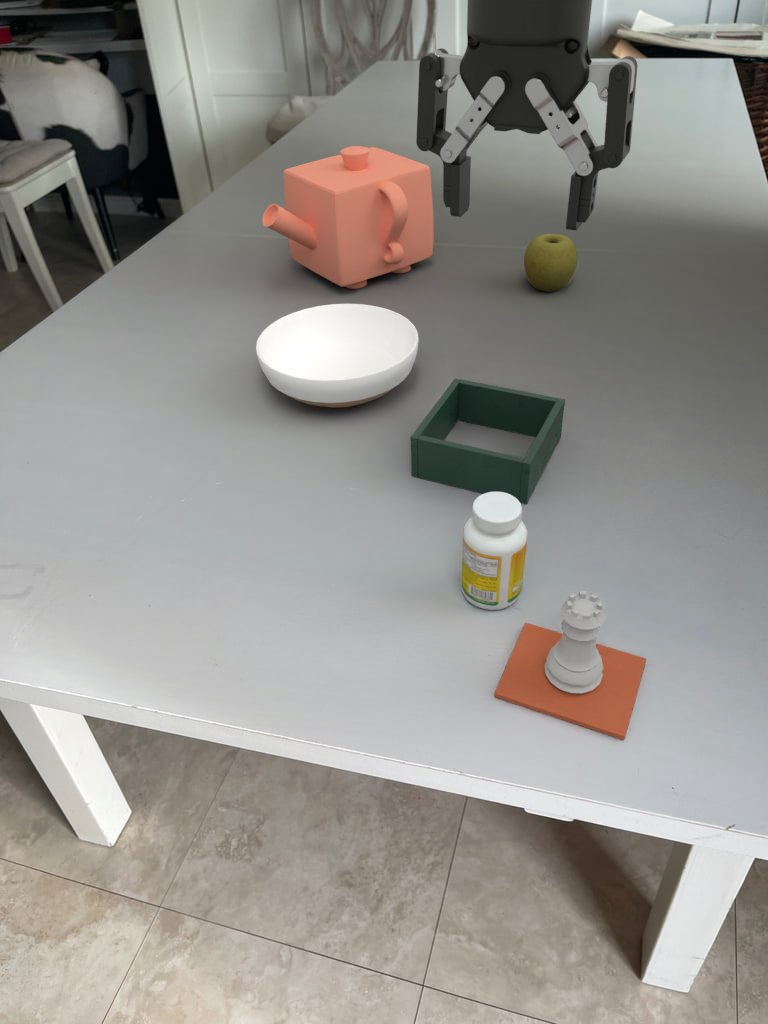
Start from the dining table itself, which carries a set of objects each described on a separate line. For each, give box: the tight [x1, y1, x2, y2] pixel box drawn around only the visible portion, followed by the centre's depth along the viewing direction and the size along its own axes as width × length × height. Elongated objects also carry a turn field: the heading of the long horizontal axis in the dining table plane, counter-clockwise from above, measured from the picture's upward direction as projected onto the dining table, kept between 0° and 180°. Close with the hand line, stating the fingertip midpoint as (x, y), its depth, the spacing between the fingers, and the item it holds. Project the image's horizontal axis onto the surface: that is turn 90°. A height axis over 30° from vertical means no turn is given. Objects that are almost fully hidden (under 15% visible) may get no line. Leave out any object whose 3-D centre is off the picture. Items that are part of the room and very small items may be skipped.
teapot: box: [262, 145, 435, 290], centre depth 120 cm, size 25×23×18 cm
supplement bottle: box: [460, 492, 528, 611], centre depth 68 cm, size 5×5×10 cm
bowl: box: [255, 303, 420, 408], centre depth 98 cm, size 20×20×6 cm
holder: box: [409, 378, 566, 505], centre depth 85 cm, size 13×13×5 cm
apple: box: [523, 233, 579, 293], centre depth 117 cm, size 8×8×7 cm
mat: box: [493, 622, 647, 741], centre depth 63 cm, size 10×8×1 cm
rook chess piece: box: [545, 590, 607, 694], centre depth 61 cm, size 4×4×8 cm
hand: (515, 219), depth 58 cm, fingers open, 8 cm apart
